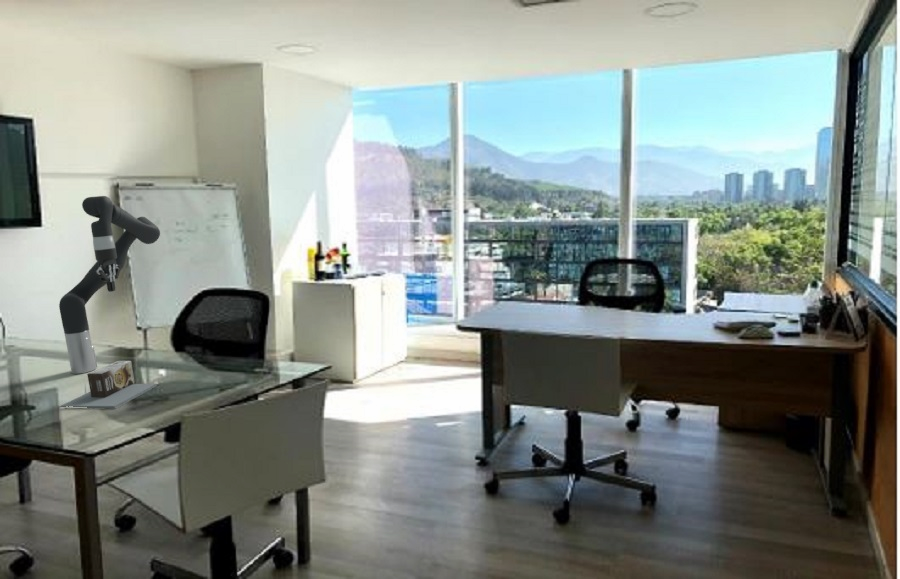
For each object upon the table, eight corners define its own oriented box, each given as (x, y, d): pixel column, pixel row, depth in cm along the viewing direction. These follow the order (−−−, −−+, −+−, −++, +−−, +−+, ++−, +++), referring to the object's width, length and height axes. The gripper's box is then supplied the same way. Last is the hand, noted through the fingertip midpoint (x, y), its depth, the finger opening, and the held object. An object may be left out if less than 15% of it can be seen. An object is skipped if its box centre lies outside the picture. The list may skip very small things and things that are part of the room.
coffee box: (135, 383, 262) (105, 398, 247) (121, 383, 263) (90, 398, 248) (131, 360, 260) (101, 374, 245) (117, 360, 262) (86, 374, 246)
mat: (105, 386, 264) (105, 384, 264) (156, 386, 260) (156, 383, 259) (59, 409, 241) (59, 406, 241) (115, 408, 236) (114, 406, 236)
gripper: (101, 249, 261) (109, 294, 264) (124, 245, 273) (131, 287, 277) (84, 250, 262) (92, 294, 265) (107, 246, 275) (114, 288, 278)
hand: (111, 291), depth 271 cm, fingers closed
